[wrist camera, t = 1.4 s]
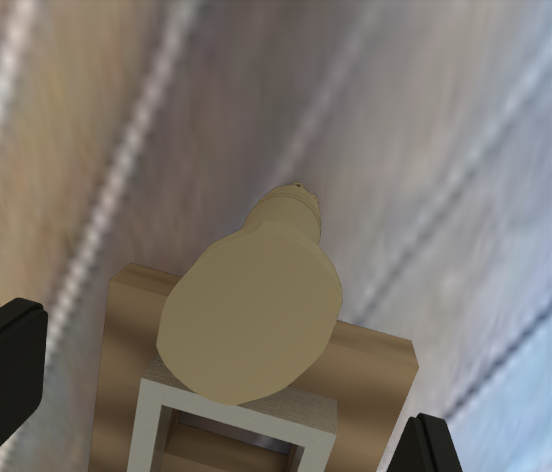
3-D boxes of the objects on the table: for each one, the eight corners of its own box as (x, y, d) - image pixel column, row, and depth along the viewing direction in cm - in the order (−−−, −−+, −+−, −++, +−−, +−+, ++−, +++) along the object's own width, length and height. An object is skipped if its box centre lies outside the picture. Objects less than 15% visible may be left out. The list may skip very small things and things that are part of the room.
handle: (356, 193, 27) (374, 306, 13) (289, 264, 29) (241, 428, 15) (297, 141, 26) (248, 198, 12) (233, 217, 28) (128, 341, 14)
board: (130, 263, 31) (109, 280, 28) (411, 341, 29) (418, 367, 27) (103, 472, 37) (84, 503, 34) (331, 542, 36) (330, 580, 33)
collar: (160, 349, 29) (141, 377, 26) (337, 400, 28) (336, 435, 25) (138, 481, 33) (119, 518, 30) (292, 528, 32) (288, 570, 29)
